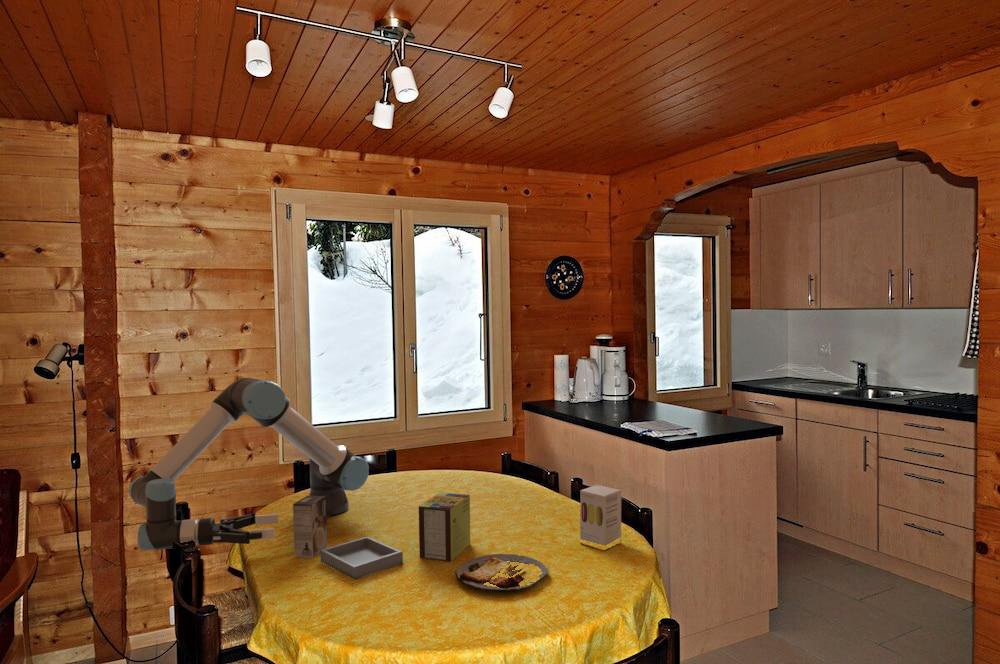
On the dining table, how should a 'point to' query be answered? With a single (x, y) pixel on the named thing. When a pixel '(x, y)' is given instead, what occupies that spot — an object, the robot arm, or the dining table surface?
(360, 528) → the dining table surface
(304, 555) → the coffee box
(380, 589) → the dining table surface
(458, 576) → the food plate
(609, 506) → the supplement box
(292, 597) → the dining table surface
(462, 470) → the dining table surface
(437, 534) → the protein box
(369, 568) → the tray
